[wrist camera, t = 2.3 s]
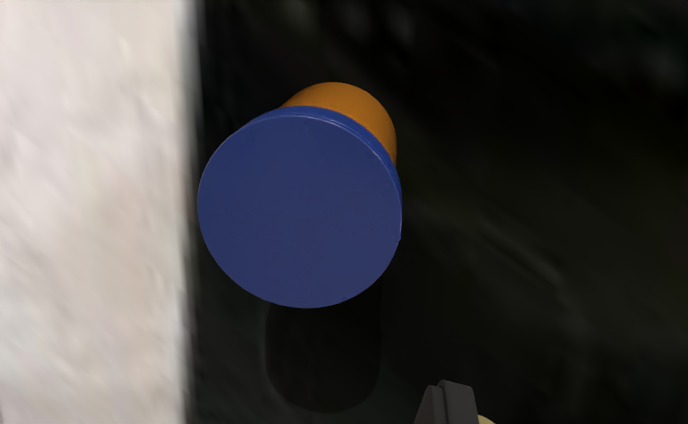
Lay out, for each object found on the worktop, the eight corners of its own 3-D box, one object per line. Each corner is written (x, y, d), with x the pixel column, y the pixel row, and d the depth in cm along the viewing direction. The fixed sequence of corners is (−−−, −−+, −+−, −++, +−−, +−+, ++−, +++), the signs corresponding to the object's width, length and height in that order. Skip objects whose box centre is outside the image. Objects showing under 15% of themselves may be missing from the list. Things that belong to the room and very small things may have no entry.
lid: (427, 134, 18) (429, 146, 17) (377, 303, 21) (374, 329, 19) (228, 83, 18) (211, 91, 17) (202, 258, 21) (185, 281, 19)
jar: (411, 100, 26) (416, 148, 17) (378, 217, 28) (367, 313, 19) (284, 68, 26) (223, 99, 17) (262, 187, 28) (198, 269, 20)
